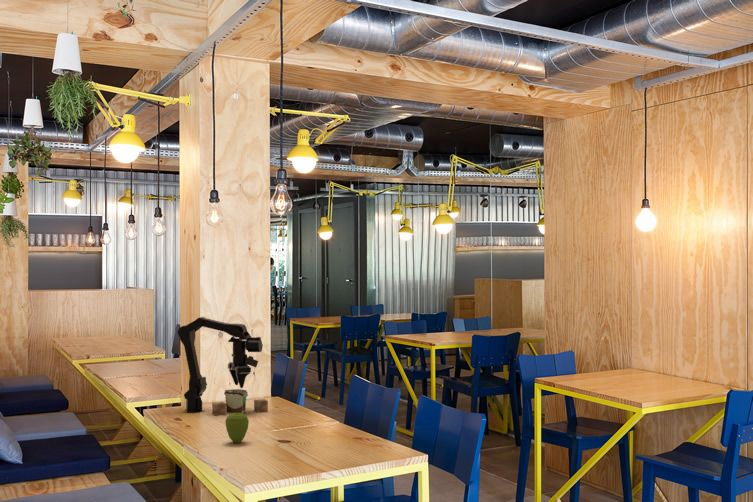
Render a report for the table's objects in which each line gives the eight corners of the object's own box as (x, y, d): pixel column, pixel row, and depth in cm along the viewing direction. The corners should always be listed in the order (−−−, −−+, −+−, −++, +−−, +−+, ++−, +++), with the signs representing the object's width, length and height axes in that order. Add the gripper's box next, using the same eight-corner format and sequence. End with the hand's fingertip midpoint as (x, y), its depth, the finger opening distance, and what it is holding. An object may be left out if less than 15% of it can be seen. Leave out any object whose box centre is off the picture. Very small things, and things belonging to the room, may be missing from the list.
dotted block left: (214, 415, 318) (214, 404, 318) (212, 413, 322) (212, 402, 322) (225, 415, 320) (225, 403, 320) (223, 413, 324) (223, 401, 324)
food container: (253, 412, 324) (253, 390, 324) (244, 415, 319) (244, 392, 319) (233, 410, 331) (233, 388, 331) (224, 412, 325) (224, 390, 326)
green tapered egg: (223, 440, 270) (223, 410, 271) (245, 439, 273) (246, 408, 274) (227, 446, 262) (227, 414, 262) (250, 444, 265) (250, 412, 266)
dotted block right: (257, 412, 325) (257, 401, 325) (254, 410, 329) (254, 399, 329) (267, 411, 327) (267, 400, 327) (264, 409, 331) (264, 398, 332)
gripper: (262, 353, 320) (262, 388, 320) (251, 349, 337) (251, 382, 337) (237, 354, 316) (237, 389, 315) (227, 350, 333) (227, 384, 332)
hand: (239, 386), depth 325 cm, fingers open, 9 cm apart
